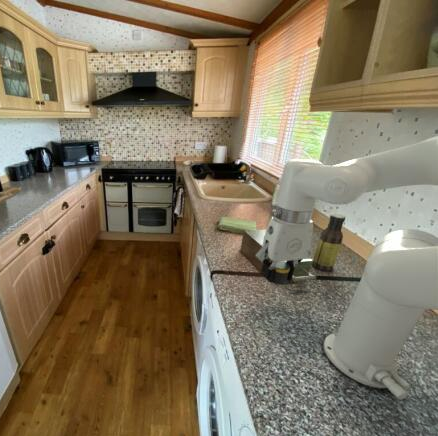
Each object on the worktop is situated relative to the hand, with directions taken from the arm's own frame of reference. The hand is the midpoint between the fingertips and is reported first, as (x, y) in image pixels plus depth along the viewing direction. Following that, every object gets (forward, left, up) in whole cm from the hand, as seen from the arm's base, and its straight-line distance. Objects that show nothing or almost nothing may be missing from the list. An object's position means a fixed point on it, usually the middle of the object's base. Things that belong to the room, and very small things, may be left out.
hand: (277, 278), depth 64 cm
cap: (0, 0, 0) cm, 0 cm away
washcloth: (+52, -18, -11) cm, 56 cm away
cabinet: (+24, -15, -11) cm, 31 cm away
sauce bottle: (+17, -33, -11) cm, 39 cm away
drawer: (+14, -15, -10) cm, 23 cm away
